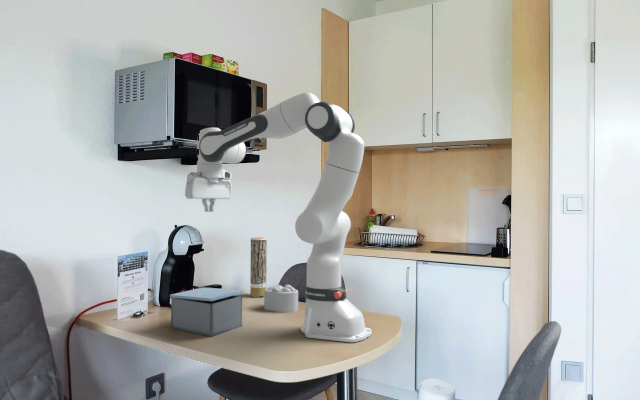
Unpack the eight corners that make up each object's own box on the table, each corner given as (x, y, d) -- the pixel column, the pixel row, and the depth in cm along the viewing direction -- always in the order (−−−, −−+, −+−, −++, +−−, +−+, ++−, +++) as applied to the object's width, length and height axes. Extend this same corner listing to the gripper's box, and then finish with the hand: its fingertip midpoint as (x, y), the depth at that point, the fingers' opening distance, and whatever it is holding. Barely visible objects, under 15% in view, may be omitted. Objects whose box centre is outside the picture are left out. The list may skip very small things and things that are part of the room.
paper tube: (247, 296, 196) (247, 238, 196) (255, 293, 203) (255, 237, 202) (261, 298, 194) (261, 239, 194) (269, 295, 200) (269, 237, 200)
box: (241, 326, 151) (242, 296, 151) (211, 336, 139) (211, 304, 139) (202, 318, 160) (203, 290, 160) (171, 328, 148) (171, 297, 148)
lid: (243, 292, 151) (243, 290, 151) (211, 301, 139) (211, 298, 139) (203, 289, 160) (203, 287, 160) (169, 297, 148) (169, 294, 148)
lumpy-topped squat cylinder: (277, 304, 184) (277, 282, 184) (304, 308, 176) (304, 286, 176) (260, 309, 175) (260, 286, 175) (287, 314, 168) (288, 290, 168)
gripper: (194, 171, 155) (193, 212, 155) (235, 174, 172) (234, 211, 172) (181, 171, 158) (180, 212, 158) (222, 174, 176) (222, 211, 176)
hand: (209, 211), depth 165 cm, fingers closed
